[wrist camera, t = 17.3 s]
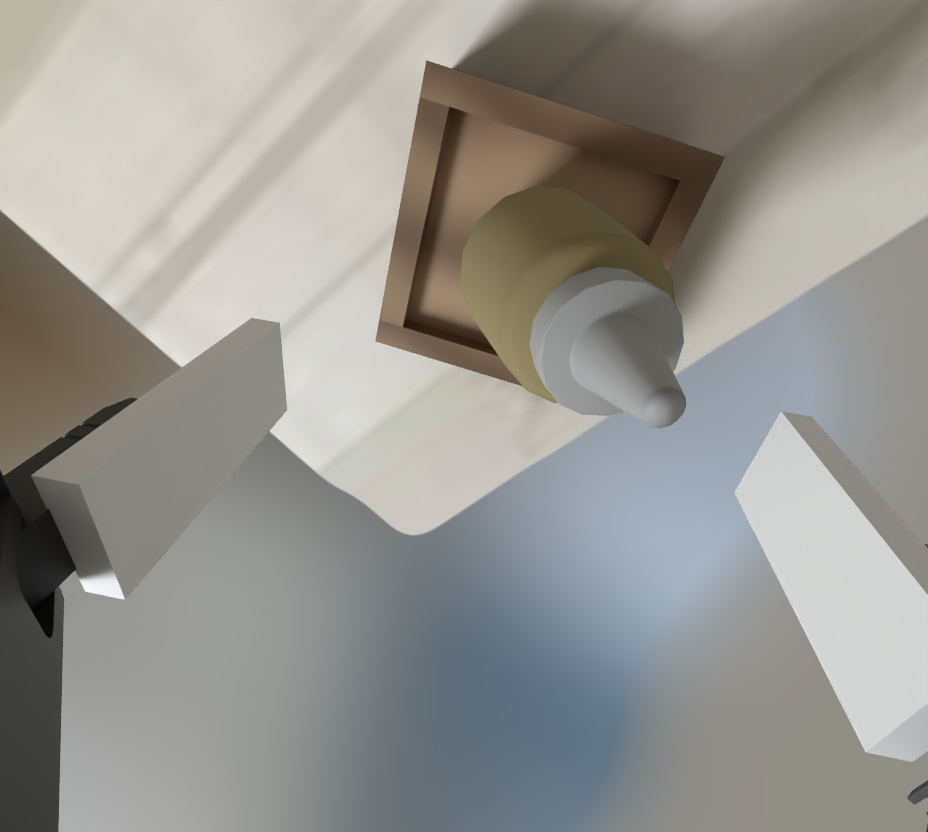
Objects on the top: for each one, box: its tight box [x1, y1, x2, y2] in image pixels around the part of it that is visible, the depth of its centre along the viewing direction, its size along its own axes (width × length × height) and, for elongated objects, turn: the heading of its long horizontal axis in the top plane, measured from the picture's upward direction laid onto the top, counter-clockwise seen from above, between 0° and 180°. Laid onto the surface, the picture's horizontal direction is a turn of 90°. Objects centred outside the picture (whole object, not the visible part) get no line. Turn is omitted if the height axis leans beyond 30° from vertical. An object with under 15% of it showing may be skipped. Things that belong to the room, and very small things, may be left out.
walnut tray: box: [376, 61, 725, 386], centre depth 30 cm, size 15×15×7 cm
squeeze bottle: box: [460, 186, 686, 428], centre depth 20 cm, size 8×8×18 cm
